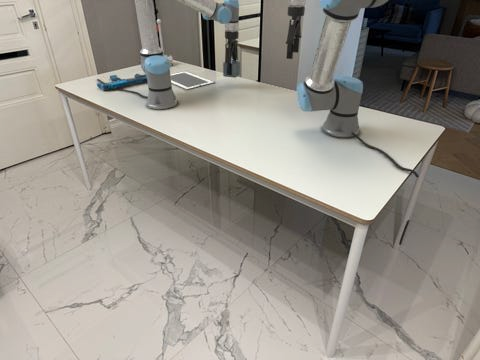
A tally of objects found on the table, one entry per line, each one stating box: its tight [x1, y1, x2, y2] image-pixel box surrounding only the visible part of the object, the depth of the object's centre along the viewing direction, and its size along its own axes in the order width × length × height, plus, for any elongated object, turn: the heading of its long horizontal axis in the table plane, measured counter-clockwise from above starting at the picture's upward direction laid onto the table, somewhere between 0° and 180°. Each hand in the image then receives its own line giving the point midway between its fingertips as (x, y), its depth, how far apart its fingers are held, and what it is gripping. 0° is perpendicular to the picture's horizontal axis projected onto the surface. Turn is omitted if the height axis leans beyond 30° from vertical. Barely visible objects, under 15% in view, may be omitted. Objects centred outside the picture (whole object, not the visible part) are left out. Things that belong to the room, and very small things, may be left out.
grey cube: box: [222, 59, 241, 79], centre depth 195 cm, size 8×7×8 cm
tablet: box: [170, 70, 215, 90], centre depth 212 cm, size 32×20×1 cm, turn 41°
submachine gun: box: [96, 73, 148, 91], centre depth 208 cm, size 34×4×25 cm
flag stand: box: [156, 18, 174, 67], centre depth 235 cm, size 13×13×30 cm
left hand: (231, 73), depth 197 cm, fingers closed on grey cube, 7 cm apart
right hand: (292, 55), depth 163 cm, fingers open, 13 cm apart
